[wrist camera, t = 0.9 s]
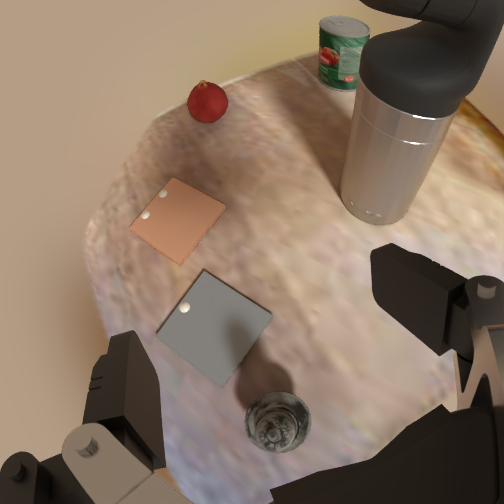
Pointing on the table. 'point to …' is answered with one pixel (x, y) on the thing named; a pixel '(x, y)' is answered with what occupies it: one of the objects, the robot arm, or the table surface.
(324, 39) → the canned tomato
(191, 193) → the tile two
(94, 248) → the table surface
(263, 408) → the salt shaker
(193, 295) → the tile one
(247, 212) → the table surface
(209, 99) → the onion
